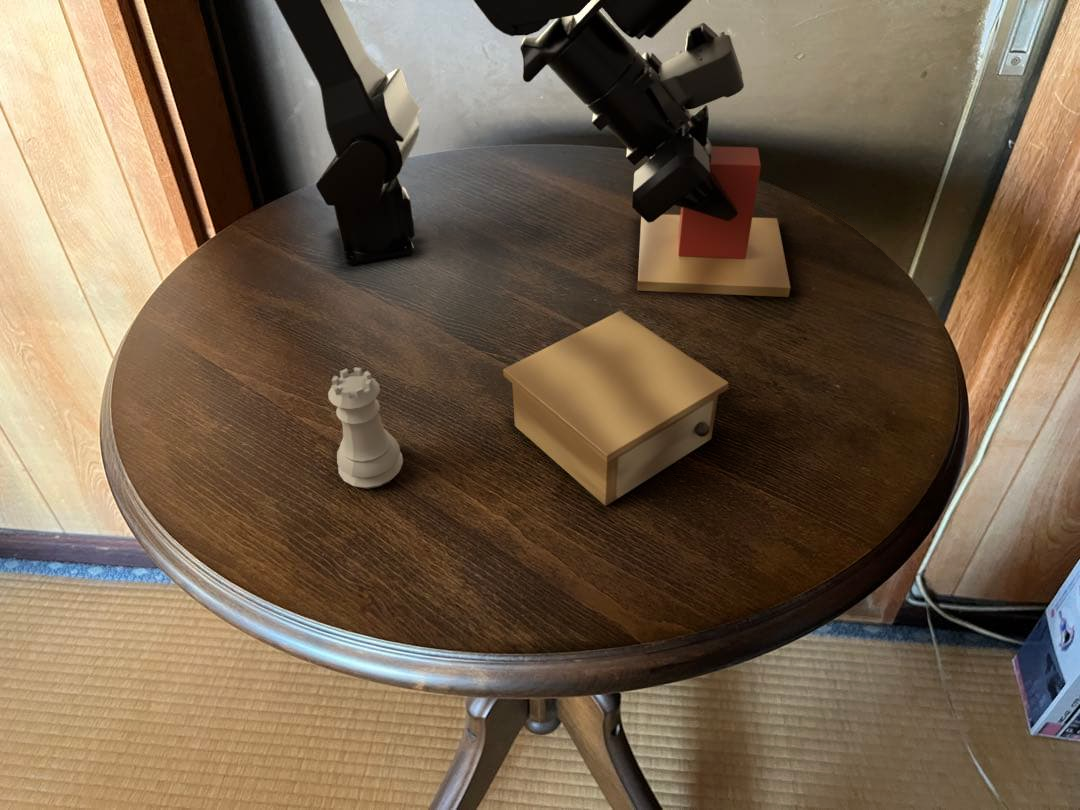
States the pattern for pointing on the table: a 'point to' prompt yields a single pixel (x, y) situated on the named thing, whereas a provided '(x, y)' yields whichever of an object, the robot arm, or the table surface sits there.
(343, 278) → the table surface
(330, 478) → the table surface
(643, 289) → the board
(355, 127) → the robot arm
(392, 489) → the table surface
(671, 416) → the cabinet
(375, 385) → the rook chess piece
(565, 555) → the table surface
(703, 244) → the tall red upright block
